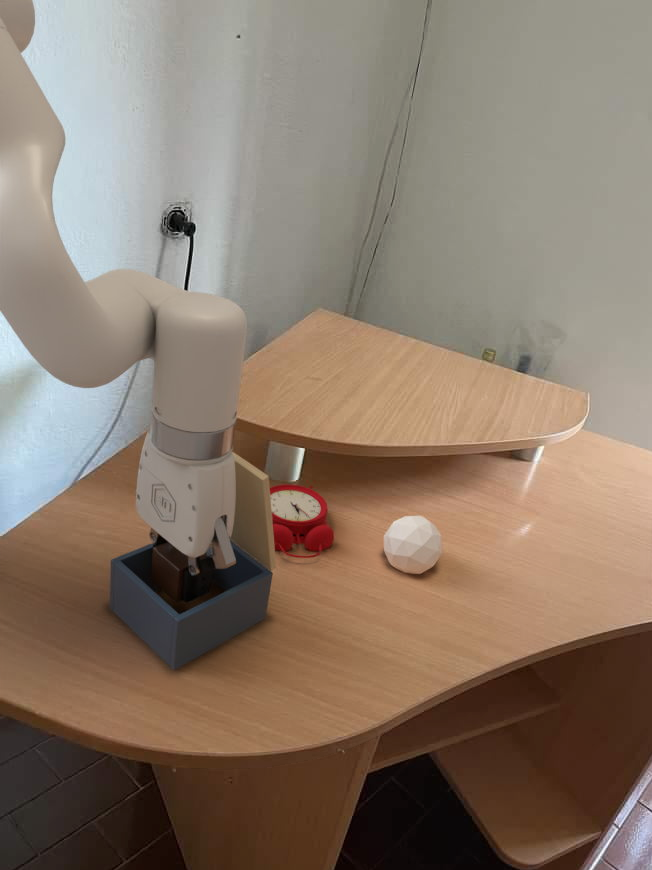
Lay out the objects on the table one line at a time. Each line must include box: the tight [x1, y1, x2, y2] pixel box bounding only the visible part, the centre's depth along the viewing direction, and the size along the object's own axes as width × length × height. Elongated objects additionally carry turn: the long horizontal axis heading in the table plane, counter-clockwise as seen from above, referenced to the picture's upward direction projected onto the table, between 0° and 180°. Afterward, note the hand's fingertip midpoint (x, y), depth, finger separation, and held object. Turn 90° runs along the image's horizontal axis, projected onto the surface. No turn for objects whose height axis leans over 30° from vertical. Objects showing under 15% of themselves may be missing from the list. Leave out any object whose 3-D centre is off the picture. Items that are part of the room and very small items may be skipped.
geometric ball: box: [383, 515, 443, 575], centre depth 92 cm, size 8×8×8 cm
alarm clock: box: [270, 484, 335, 559], centre depth 94 cm, size 10×6×15 cm
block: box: [151, 542, 212, 604], centre depth 72 cm, size 4×4×4 cm
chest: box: [109, 540, 274, 671], centre depth 75 cm, size 12×11×8 cm
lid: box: [230, 451, 277, 572], centre depth 73 cm, size 13×11×1 cm
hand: (180, 581), depth 73 cm, fingers closed on block, 4 cm apart
